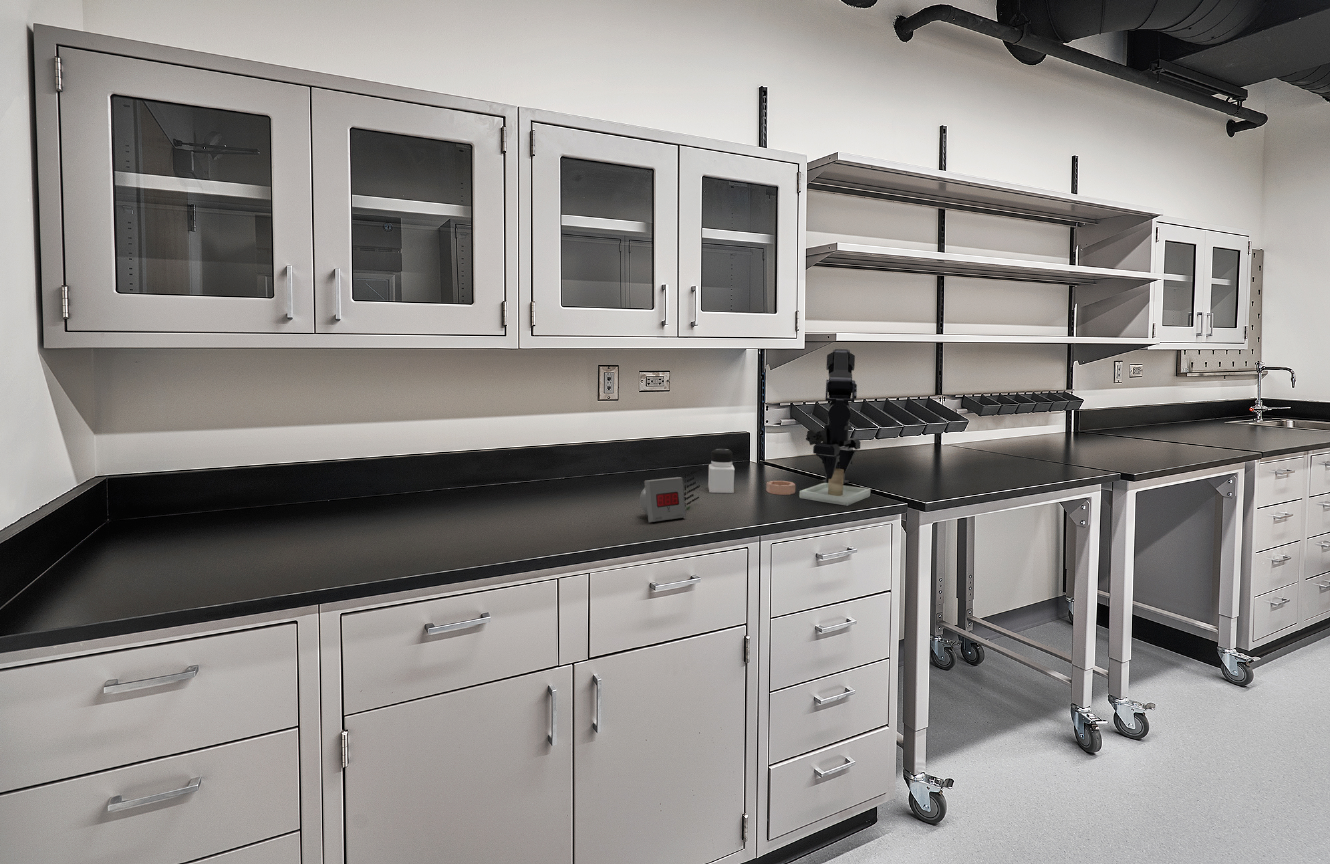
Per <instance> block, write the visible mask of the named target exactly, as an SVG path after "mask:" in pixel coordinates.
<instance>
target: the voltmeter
mask: <svg viewBox="0 0 1330 864" xmlns="http://www.w3.org/2000/svg"><path fill="white" fill-rule="evenodd" d="M700 471H702V467H699V468H698V469H696V470H693V471H691V472H689V473H687V474H686V473H685V474H684V481H683V477H680V476H679V477H678V476H676V477H667V478H658V479H650V480H644V487H643V489H642V490H641V493H640V495H639V505H640V507H641V509H642V511H643V512H644V513H645V514H646V515H647V520H648V522H647V523H655V522H662V521H663V522H664V521H669V520H676V519H684V518H687V511H688V510H690V508H691V507H690V506H688V505H691V503H692V502H695V501H697V500H698V499H700V496H697V497H695V498H693V499H692V497H694V496H695V495H694V493H692V494H690V493H691V492H694V491H696V490H697V489H699V488H700V487H701V485H696V481H693V480H695V476H693V477H690V478H688V479H686V478H687V477H689V476H692V475H694V474H696V473H698V472H700ZM691 481H693V482H692V483H690V484H687V483H689V482H691ZM684 483H685V485H684ZM694 485H696V486H695V487H693V488H691V489H688V488H690V487H692V486H694ZM687 489H688V491H687ZM684 491H685V492H684ZM688 494H690V495H688ZM687 495H688V496H687ZM686 496H687V497H686ZM689 499H692V500H690V501H689V502H686V501H688V500H689Z"/></svg>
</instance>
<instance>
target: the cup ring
mask: <svg viewBox="0 0 1330 864" xmlns="http://www.w3.org/2000/svg"><path fill="white" fill-rule="evenodd" d="M765 488H766V489H765V490H766V492H767V493H769V494H773V495H777V496H778V495H780V496H783V495H784V496H785V495H787V496H789V495H790V496H791V495H793V494H796V483H794V482H793V481H788V480H787V481H786V480H770V481H767V482H766V487H765Z"/></svg>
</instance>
